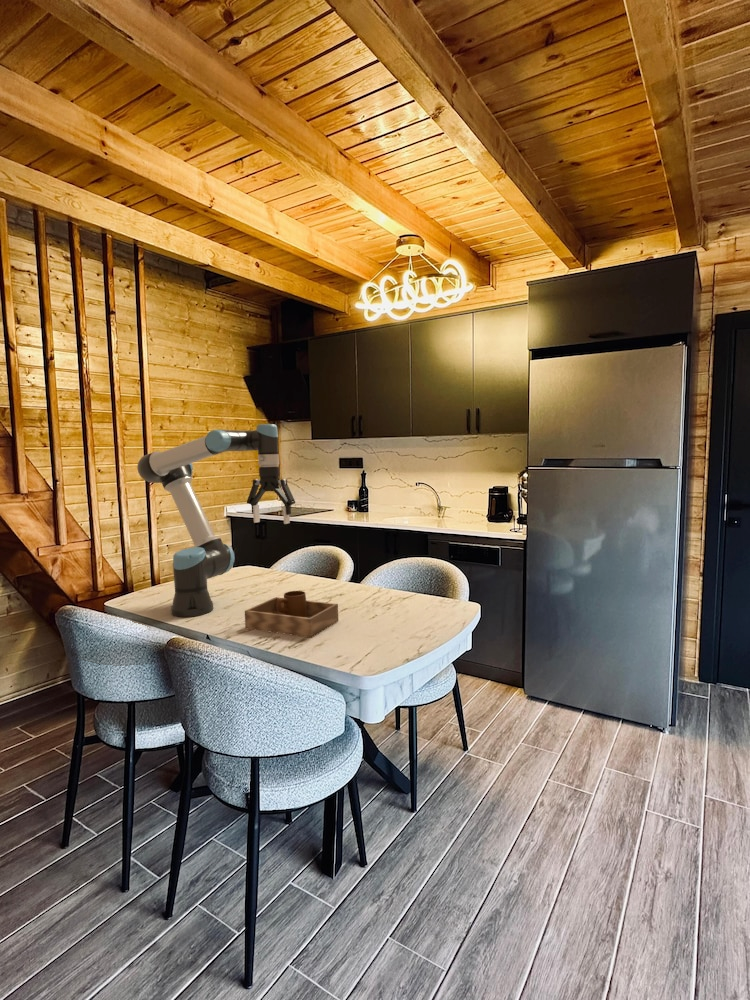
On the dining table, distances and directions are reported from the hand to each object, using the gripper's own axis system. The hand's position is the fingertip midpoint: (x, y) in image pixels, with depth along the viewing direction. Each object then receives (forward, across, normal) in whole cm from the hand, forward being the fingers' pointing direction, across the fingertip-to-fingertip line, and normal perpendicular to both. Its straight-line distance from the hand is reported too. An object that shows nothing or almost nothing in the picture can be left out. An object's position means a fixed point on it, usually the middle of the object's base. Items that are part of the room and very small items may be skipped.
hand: (271, 523), depth 202 cm
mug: (+32, +16, -14) cm, 39 cm away
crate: (+33, +17, -14) cm, 39 cm away
